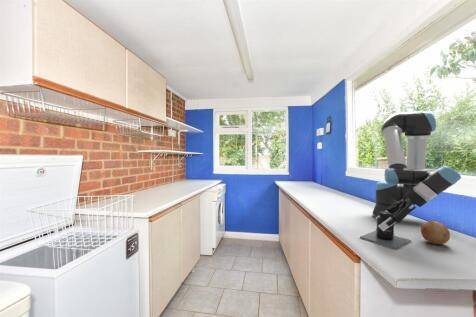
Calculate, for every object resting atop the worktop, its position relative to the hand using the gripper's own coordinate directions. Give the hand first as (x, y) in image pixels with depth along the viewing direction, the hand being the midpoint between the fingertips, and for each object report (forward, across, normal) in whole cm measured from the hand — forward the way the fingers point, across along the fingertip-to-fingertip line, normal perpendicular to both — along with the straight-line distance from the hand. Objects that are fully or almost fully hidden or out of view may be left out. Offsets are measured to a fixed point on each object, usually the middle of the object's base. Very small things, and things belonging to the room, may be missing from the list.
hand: (379, 224), depth 103 cm
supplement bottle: (+3, 0, -6) cm, 7 cm away
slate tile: (+3, 0, -7) cm, 7 cm away
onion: (-10, +5, -20) cm, 23 cm away
